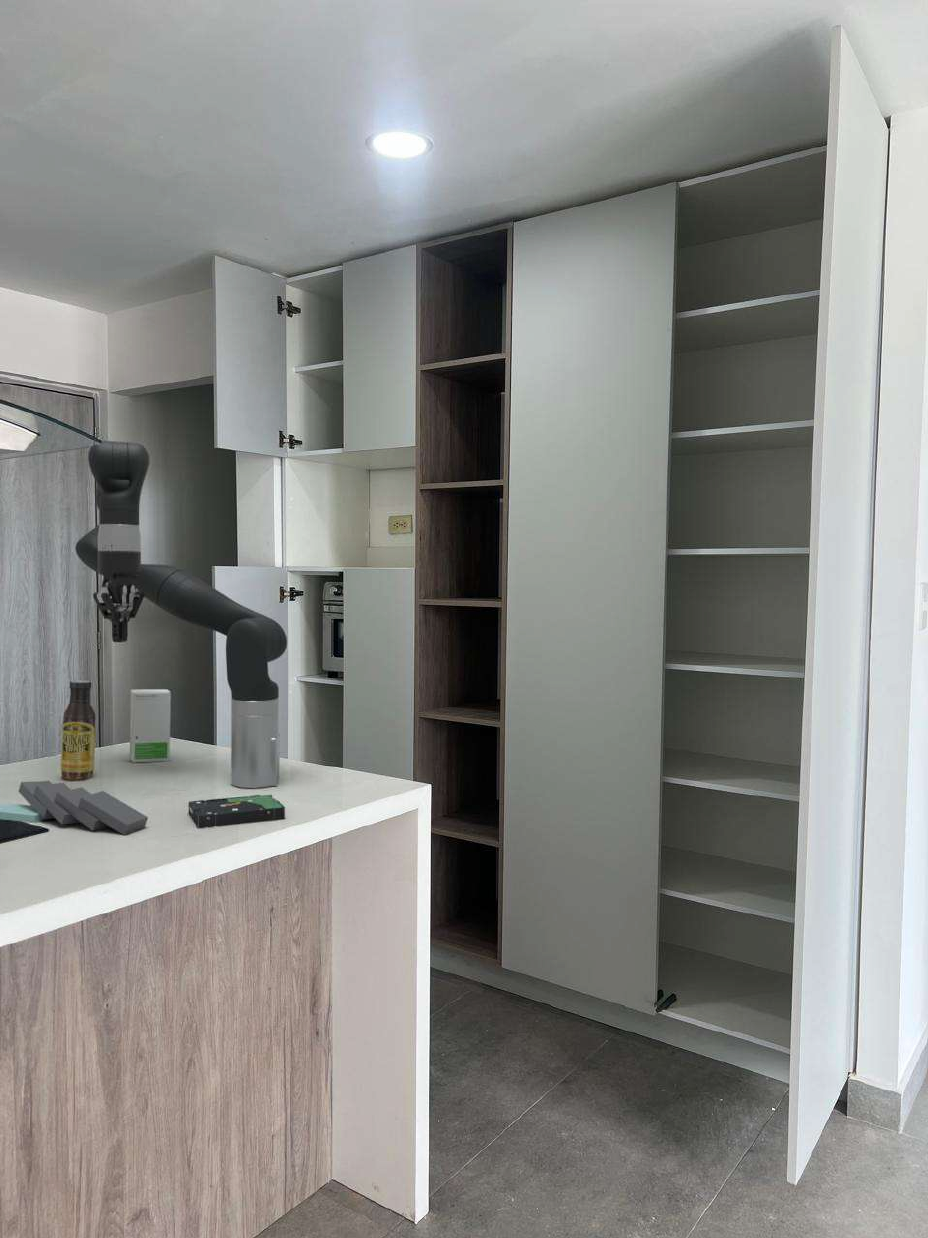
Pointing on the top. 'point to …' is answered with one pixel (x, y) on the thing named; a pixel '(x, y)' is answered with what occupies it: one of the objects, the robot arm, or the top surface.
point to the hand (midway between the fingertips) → (119, 641)
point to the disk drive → (235, 810)
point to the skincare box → (150, 725)
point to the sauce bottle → (78, 734)
